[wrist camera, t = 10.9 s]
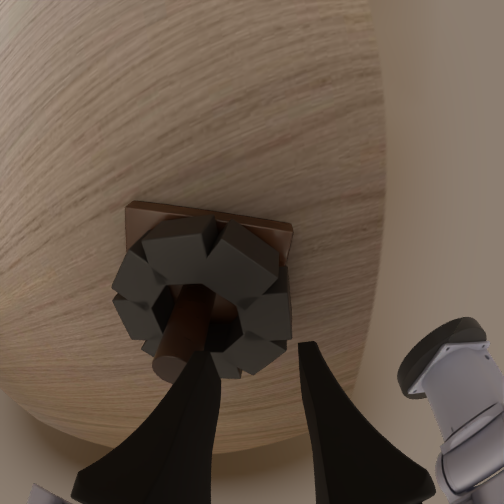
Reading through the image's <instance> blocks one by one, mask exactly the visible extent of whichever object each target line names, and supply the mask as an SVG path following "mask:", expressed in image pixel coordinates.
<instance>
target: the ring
mask: <svg viewBox="0 0 504 504" xmlns="http://www.w3.org/2000/svg"><path fill="white" fill-rule="evenodd" d="M201 283H202V284H203V285H205V286H206V287H208V288H209V289H211V290H213V291H214V292H216V293H217V294H219V295H220V296H222V297H223V298H225V299H226V300H228V301H229V302H231V303H233V304H234V305H236V307H237V311H238V315H239V316H238V317H237V318H236V319H235V320H234V321H233V322H232V323H231V324H209V328H208V333H207V337H206V342H205V346H204V351H207V350H210V353H211V356H212V358H213V361H214V364H215V366H216V369H217V371H218V374H219V377H220V378H227V379H240V378H241V374H242V370H244V371H245V372H247V373H249V374H251V375H255V374H256V373H257V372H259V371H260V370H261V369H263V368H264V367H266V366H267V365H268V364H270V363H271V362H272V361H274V360H275V359H276V358H278V357H279V356H280V355H282V354H283V353H284V352H286V350H287V340H291V339H292V307H291V296H290V286H289V275H288V267H287V266H283V267H279V252H278V251H276V250H275V249H274V248H272V247H271V246H270V245H268V244H267V243H265V242H264V241H263V240H261V239H260V238H258V237H257V236H256V235H254V234H253V233H252V232H250V231H249V230H247V229H246V228H245V227H243V226H242V225H240V224H239V223H238V222H236V221H235V220H233V219H232V218H231V219H230V220H229V222H228V223H227V224H226V226H225V227H224V228H223V230H222V231H221V232H220V234H219V235H218V230H217V226H216V221H215V216H214V214H210V215H202V216H195V217H187V218H180V219H173V220H166V221H161V222H160V223H159V224H158V225H157V226H156V227H155V228H154V229H153V230H152V231H151V230H148V231H147V232H146V233H145V234H144V235H143V236H142V237H141V238H140V239H139V240H137V241H136V242H135V243H134V244H133V245H132V246H131V247H130V248H129V249H128V251H127V253H126V256H125V258H124V260H123V262H122V264H121V266H120V268H119V271H118V273H117V275H116V277H115V280H114V282H113V284H112V287H111V288H112V289H113V290H115V291H116V292H118V294H117V295H116V296H115V297H114V299H113V300H112V301H113V303H114V306H115V308H116V310H117V312H118V314H119V316H120V318H121V320H122V322H123V324H124V326H125V328H126V330H127V332H128V334H129V336H130V337H131V339H132V340H145V342H144V344H143V346H142V348H141V350H143V351H144V352H146V353H148V354H149V355H151V356H152V357H154V356H155V354H156V351H157V348H158V346H159V343H160V341H161V338H162V335H163V333H164V330H165V328H166V325H167V323H168V320H169V318H170V315H171V313H172V310H173V308H174V302H173V299H172V297H171V294H170V291H169V288H168V285H184V284H201Z"/></svg>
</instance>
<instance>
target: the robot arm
mask: <svg viewBox="0 0 504 504" xmlns="http://www.w3.org/2000/svg"><path fill="white" fill-rule="evenodd" d="M489 345H490V342H489V341H481V342H466V343H445V344H443V345H442V346H441V347H440V348H439V350H438V351H437V353H436V354H435V355H434V357H433V358H432V360H431V361H430V362H429V364H428V365H427V366H426V368H425V369H424V370H423V372H422V373H421V374H420V375H419V377H418V378H417V379H416V381H415V382H414V383H413V384H412V385H411V387H410V388H409V389H408V391H407V392H408V394H415V393H422V392H425V394H426V396H427V398H428V401H429V403H430V406H431V408H432V411H433V413H434V416H435V418H436V421H437V423H438V426H439V429H440V431H441V434H442V437H443V439H444V442H445V443H444V444H442V445H441V446H440V448H441V451H442V452H441V453H440V454H439V455H438V458H437V461H436V465H435V474H436V479H437V482H438V484H439V486H440V488H441V490H442V491H443V492H444V493H445V495H446V497H447V499H448V501H449V504H504V470H502V471H501V472H499V473H498V474H496V475H495V476H494V477H492V478H490V479H489V480H487V481H486V482H484V483H482V484H481V485H478V486H475V485H476V484H478V483H479V482H481V481H483V480H484V479H486V478H488V477H489V476H491V475H492V474H494V473H495V472H497V471H498V470H500V469H501V468H502V467H504V376H503V374H502V373H501V371H500V369H499V368H498V366H497V364H496V363H495V361H494V360H493V358H492V357H491V355H490V354H489V352H488V351H487V348H488V347H489ZM298 353H299V371H300V383H301V392H302V400H303V405H304V410H305V414H306V419H307V424H308V429H309V434H310V439H311V444H312V451H313V462H314V475H315V491H316V504H422V502H423V501H425V500H427V499H429V498H431V497H432V496H434V495H435V493H436V489H435V485H434V483H433V481H432V478H431V476H430V474H429V473H428V471H427V470H426V469H424V468H423V467H421V466H420V465H418V464H417V463H416V462H414V461H413V460H411V459H410V458H409V457H407V456H406V455H405V454H403V453H402V452H401V451H400V450H398V449H397V448H396V447H395V446H393V445H392V444H391V443H390V442H389V441H388V440H387V439H386V438H385V437H384V436H382V435H381V434H380V433H379V432H378V431H377V430H376V429H375V428H374V427H373V426H372V425H371V424H370V423H369V422H368V421H367V419H366V418H365V417H364V416H363V415H362V414H361V413H360V411H359V410H358V409H357V408H356V407H355V406H354V404H353V403H352V402H351V400H350V399H349V398H348V396H347V395H346V393H345V392H344V391H343V389H342V388H341V386H340V385H339V383H338V382H337V380H336V379H335V377H334V376H333V374H332V372H331V371H330V369H329V367H328V365H327V364H326V362H325V360H324V358H323V356H322V354H321V352H320V350H319V347H318V345H317V343H316V342H315V341H310V342H302V343H298ZM220 400H221V379H220V377H219V374H218V371H217V369H216V366H215V364H214V361H213V358H212V356H211V353H210V350H207V351H194V353H193V354H192V356H191V357H190V359H189V360H188V362H187V364H186V365H185V367H184V368H183V370H182V372H181V373H180V375H179V376H178V378H177V379H176V381H175V382H174V384H173V385H172V387H171V388H170V390H169V391H168V392H167V394H166V395H165V397H164V398H163V399H162V400H161V402H160V403H159V404H158V406H157V407H156V408H155V409H154V411H153V412H152V413H151V414H150V415H149V417H148V418H147V419H146V420H145V421H144V422H143V423H142V424H141V425H140V426H139V427H138V428H137V429H136V430H135V431H134V432H133V433H132V434H131V435H130V436H129V437H128V438H127V439H126V440H125V441H123V442H122V443H121V444H120V445H119V446H117V447H116V448H115V449H113V450H112V451H111V452H109V453H108V454H107V455H105V456H104V457H103V458H101V459H100V460H98V461H96V462H95V463H93V464H92V465H90V466H88V467H86V468H85V469H83V470H81V471H79V472H78V474H77V477H76V480H75V483H74V486H73V490H72V493H71V498H72V499H74V500H76V501H78V502H80V503H82V504H211V460H212V450H213V443H214V437H215V432H216V426H217V420H218V414H219V408H220ZM473 486H475V487H473ZM27 504H72V503H70V502H68V501H66V500H64V499H62V498H60V497H58V496H56V495H54V494H53V493H51V492H49V491H47V490H46V489H44V488H42V487H40V486H39V485H37V484H35V483H34V484H33V486H32V489H31V492H30V495H29V498H28V502H27Z"/></svg>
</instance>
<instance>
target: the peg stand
mask: <svg viewBox="0 0 504 504" xmlns="http://www.w3.org/2000/svg"><path fill="white" fill-rule="evenodd" d="M210 214H214V216H215V221H216V226H217V230H218V235H219V234H220V232H221V231H222V230H223V228H224V227H225V226H226V224H227V223H228V222H229V220H230V219H231V218H232V219H233V220H235V221H236V222H238V223H239V224H240V225H242V226H243V227H245V228H246V229H247V230H249V231H250V232H252V233H253V234H254V235H256V236H257V237H258V238H260V239H261V240H263V241H264V242H265V243H267V244H268V245H270V246H271V247H272V248H274V249H275V250H276V251H278V252H279V267H283V266H286V262H287V258H288V254H289V250H290V246H291V242H292V237H293V233H294V232H293V228H292V225H291V224H289V223H283V222H277V221H272V220H266V219H260V218H253V217H247V216H241V215H234V214H228V213H221V212H215V211H208V210H201V209H194V208H187V207H180V206H172V205H165V204H157V203H149V202H141V201H133V202H131V203H130V204H128V205H127V206H126V207H125V229H126V252H127V251H128V249H129V248H130V247H131V246H132V245H133V244H134V243H135V242H136V241H137V240H139V239H140V238H141V237H142V236H143V235H144V234H145V233H146V232H147V231H148V230H151V231H152V230H153V229H154V228H155V227H156V226H157V225H158V224H159V223H160V222H161V221H166V220H173V219H180V218H187V217H195V216H202V215H210ZM168 288H169V291H170V294H171V297H172V299H173V302H174V308H173V310H172V313H171V315H170V318H169V320H168V323H167V325H166V328H165V330H164V333H163V335H162V338H161V341H160V343H159V346H158V348H157V351H156V354H155V356H154V359H153V362H152V368H153V371H154V372H155V373H156V375H157V376H159V377H160V378H161V379H163V380H164V381H166V382H169V383H172V384H174V382H175V381H176V379H177V378H178V376H179V375H180V373H181V372H182V370H183V368H184V367H185V365H186V364H187V362H188V360H189V359H190V357H191V356H192V354H193V353H194V351H204V346H205V342H206V337H207V333H208V328H209V324H231V323H232V322H233V321H234V320H235V319H236V318H237V317H238V316H239V315H238V311H237V307H236V305H234V304H233V303H231V302H229V301H228V300H226V299H225V298H223V297H222V296H220V295H219V294H217V293H216V292H214V291H213V290H211V289H209V288H208V287H206V286H205V285H203V284H202V283H201V284H184V285H168Z"/></svg>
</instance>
